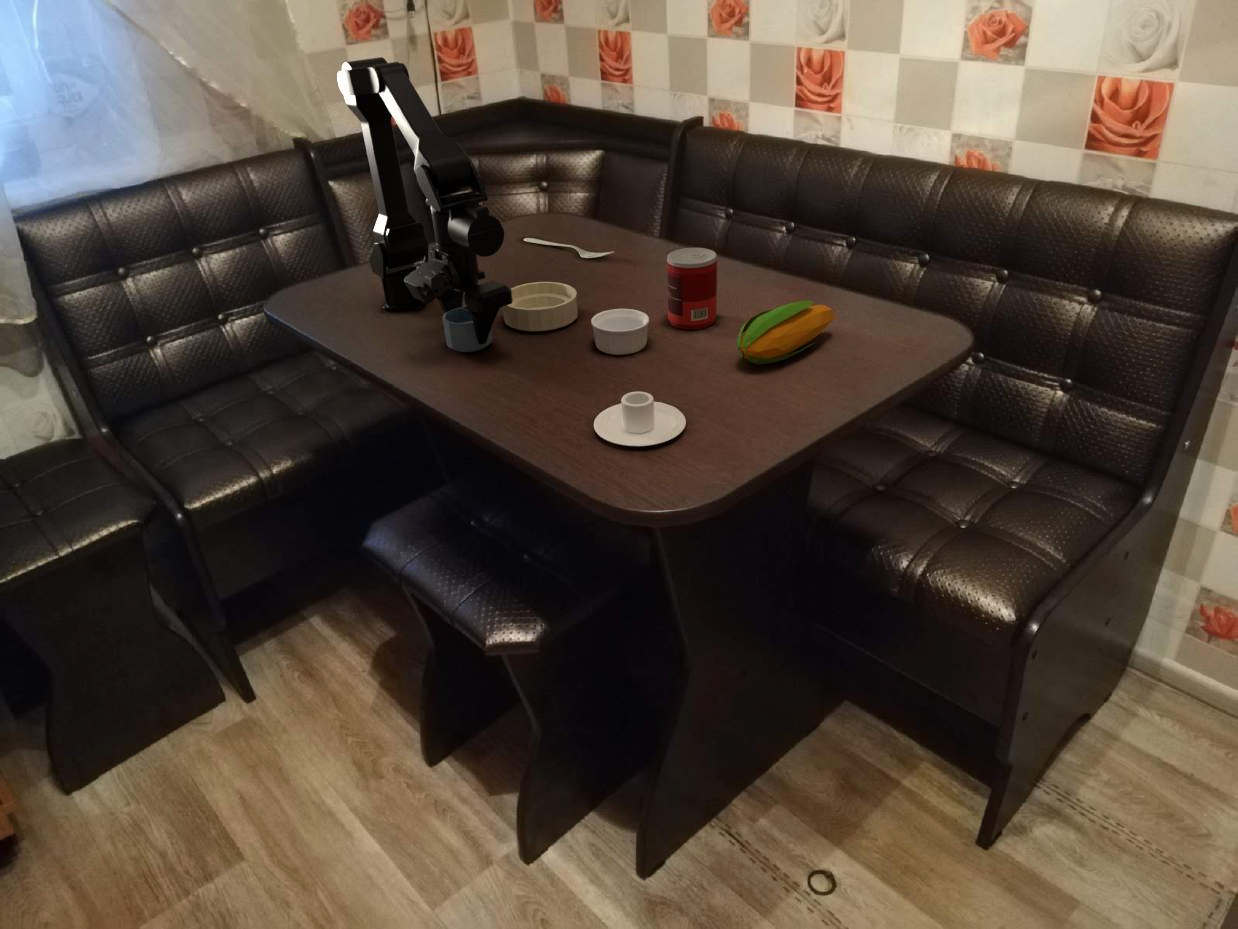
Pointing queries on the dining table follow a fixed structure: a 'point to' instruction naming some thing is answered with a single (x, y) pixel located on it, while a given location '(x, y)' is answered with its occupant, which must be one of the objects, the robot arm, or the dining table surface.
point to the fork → (582, 253)
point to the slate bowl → (462, 331)
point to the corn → (782, 331)
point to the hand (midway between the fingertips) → (469, 336)
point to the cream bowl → (541, 306)
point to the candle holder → (639, 421)
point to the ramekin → (620, 331)
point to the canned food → (692, 288)
